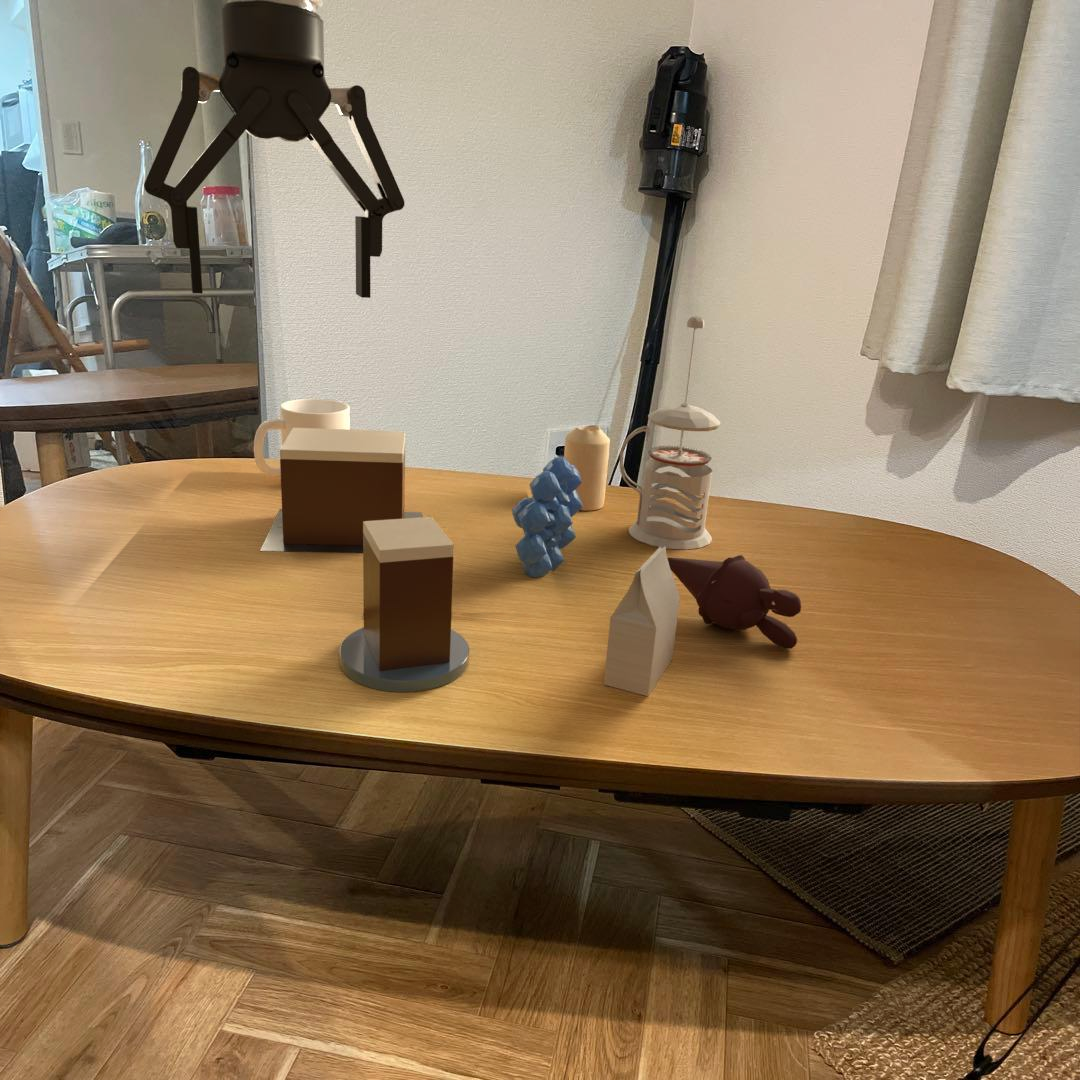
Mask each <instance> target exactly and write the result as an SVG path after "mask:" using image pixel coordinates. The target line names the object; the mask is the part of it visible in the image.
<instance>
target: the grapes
mask: <svg viewBox="0 0 1080 1080" xmlns="http://www.w3.org/2000/svg"><path fill="white" fill-rule="evenodd" d="M581 483H582V480H581V477H580V474H579V472H578V470H577V468H576V467H575V466H574V465H572V464H569V462H568V460H567V459H565V458H564V456H556V457H553V459H551V460H550V461H549V462H548V463H547V464H546V465H545V466H544V467H543V469H542V471H541V472H540V473H539V474H537V475H536V476H535V477H534V478H533V480H532V481H531V482H530V483H529V490H530V492H531V495H532V496H531V497H530V496H529V497H523V498H522V499H521V500H519V502H517V503H516V505H515V506H514V507H513V508H512V509H511V513H512V517H513V521H514V523H515V524H516V526H517V527H518V528H520V529H522V531H523V535H524V536H523V537H521V538H520V540H519V541H518V542H516V544H515V545H514V546H515V550H516V551H515V552H516V554H517V558H518V559H519V560H520V562H521V564H522V568H523V571H524V573H525V575H526V576H527V577H529V578H542V577H544V576H546V575H547V574H549V572H551V573H553V572H554V571H556V570H557V569H559V567H560V566H561V565H562V564H563V563H564V562H565V560H564V556H563V553H562V549H565V548H566V547H568V546H569V545H570V544H571V543H572V542H573V541H574V540H575V539H576V533H575V529H574V527H573V519H572V517H574V516H575V515H576V514H577V513H578V512H579V511H581V510H580V509H581V508H582V507H583V506H582V502H581V499H580V496H579V494H578V493H577V491H575V489H576V488H577V487H578V486H579V485H580V484H581Z"/></svg>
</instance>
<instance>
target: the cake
mask: <svg viewBox="0 0 1080 1080" xmlns="http://www.w3.org/2000/svg"><path fill="white" fill-rule="evenodd" d="M279 467H280V471H281V477H280V493H281V494H280V495H281V509H282V523H283V544H311V545H360V546H363V521H375V520H390V519H404V512H405V498H406V497H405V496H406V495H405V494H406V431H400V430H398V431H397V430H373V429H372V430H371V429H370V430H369V429H350V430H346V429H318V428H293V429H292V430H291V432H290V434H289V435H288V437H287V439H286V440H285V442H284V444H283V445H282V444H281V447H280V448H279Z"/></svg>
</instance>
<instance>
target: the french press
mask: <svg viewBox="0 0 1080 1080" xmlns="http://www.w3.org/2000/svg"><path fill="white" fill-rule="evenodd" d="M686 328H690V329H693V335H692V341H691V349H690V359H689V368H688V376H687V383H686V384H687V385H686V392H685V400H684V403H681V404H670V405H665V406H662V407H660V408H658V409H656V410H654V411H652V412H651V413H649V414H648V415H647V417H648V419H649V421H650V423H651V424H653V425H655V426H658V427H662V428H666V429H671V430H678V431H681V432H680V433H681V434H680V442H679V445H677V446H676V445H670V444H669V445H658V446H653V447H651V448H650V449H649V450H647V453H648V455H649V457H650V458H651V459H647V460H646V462H645V463H644V468H643V477H642V486H641V485H639V484H638V483H636V482H635V481H633V479H631V478H630V476H629V475H628V474H627V473H626V469H625V466H624V451H625V448H626V446H627V444H628V443H629V441H630V440H632V438H633V437H635V436H636V435H638V434H640V433H642V432H643V433H644V432H645V441H646V442H648V441H649V439H650V431H651V428H650V427H649V426H646V425H643V426H640V427H638V428H635V429H634V430H633V431H632V432H631V433H629V434H628V435H627V437H626V438H625V440H624V441H623V444H622V446H621V450H620V452H619V471H620V474H621V477H622V480H623V481H624V482H625V483H626V484H627V485H628V486H629V487H630V488H632V489H633V490H634V491H635V492H637V493H638V495H639V498H638V508H637V509H638V510H637V520H636V521H635V522H634V523H632V524H631V525H630V526H629V528H628V529H627V530H628V532H629V535H630V536H631V537H632V538H634V539H635V540H637V541H638V542H640V543H644V544H647V545H649V546H653V547H658V548H659V547H660V546H661V548H663V547H665V546H666V549H667V550H669V549H670V550H693V549H700V548H703V547H706V546H709V545H710V544H711V542H712V541H713V538H712V536H711V534H710V532H709V531H708V530H707V529H706V520H707V514H708V507H709V499H710V491H711V483H712V476H713V469H712V467H710V466H709V465H707V464H709V462H711V460H712V459H713V457H712V456H711V455H710V454H709V453H708V452H706V451H704V450H702V449H697V448H695V447H694V448H693V447H687V446H683V441H684V440H683V439H684V432H685V431H686V432H711V431H716V430H717V429H719V427H720V426H721V421H720V420H719V419H718V418H717V417H716V416H715V415H714V414H713V413H711V412H709V411H707V410H706V409H703V408H701V407H698V406H695V405H691V404H690V403H688V399H689V390H690V381H691V374H692V365H693V356H694V349H695V340H696V331H697V329H705V320H704V319H703V317H700V316H691V317H690V318H689V319H688V320H687V322H686ZM667 467H672V468H675V469H678V470H680V471H682V472H683V473H684V474H686V475H687V476H682V475H681V474H679V473H677V472H674V471H664V472H657V471H658V470H659V469H663V468H667ZM632 484H633V485H632ZM666 488H670V489H673V490H676V491H678V492H679V493H678V492H675V491H672V490H670V489H666ZM681 494H682V495H681ZM700 496H702V497H700ZM664 498H668V499H672V500H675V501H676V502H678V503H679V504H681V505H682V506H683V507H682V506H679V505H678V504H677V503H674V502H671V501H668V500H665V499H664ZM684 507H685V508H684ZM700 507H701V508H700Z"/></svg>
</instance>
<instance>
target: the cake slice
mask: <svg viewBox="0 0 1080 1080" xmlns="http://www.w3.org/2000/svg"><path fill="white" fill-rule="evenodd" d="M454 548H455V544H454V543H453V541H452V540H451V539H450V538H449V537H448V535H446V533H445V532H444V531H443V529H442V528H441V526H440V525H439V524H438V523H437V522H436V521H435V519H434V518H433V517H432V516H424V517H423V516H422V517H421V518H406V519H390V520H375V521H363V553H362V556H363V557H362V562H363V563H362V566H363V569H362V570H363V572H362V574H363V576H362V577H363V579H362V580H363V581H362V582H363V591H362V592H363V593H362V595H363V599H362V600H363V627H364V636H365V638H366V641H367V643H368V645H369V647H370V650H371V652H372V654H373V657H374V659H375V661H376V663H377V666H378V668H379V670H380V671H384V670H392V669H400V668H408V667H416V666H424V665H432V664H440V663H448V662H450V643H451V629H452V612H453V611H452V609H453V583H454V582H453V581H454V580H453V579H454V578H453V576H454V574H453V573H454V552H455V551H454Z"/></svg>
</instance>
